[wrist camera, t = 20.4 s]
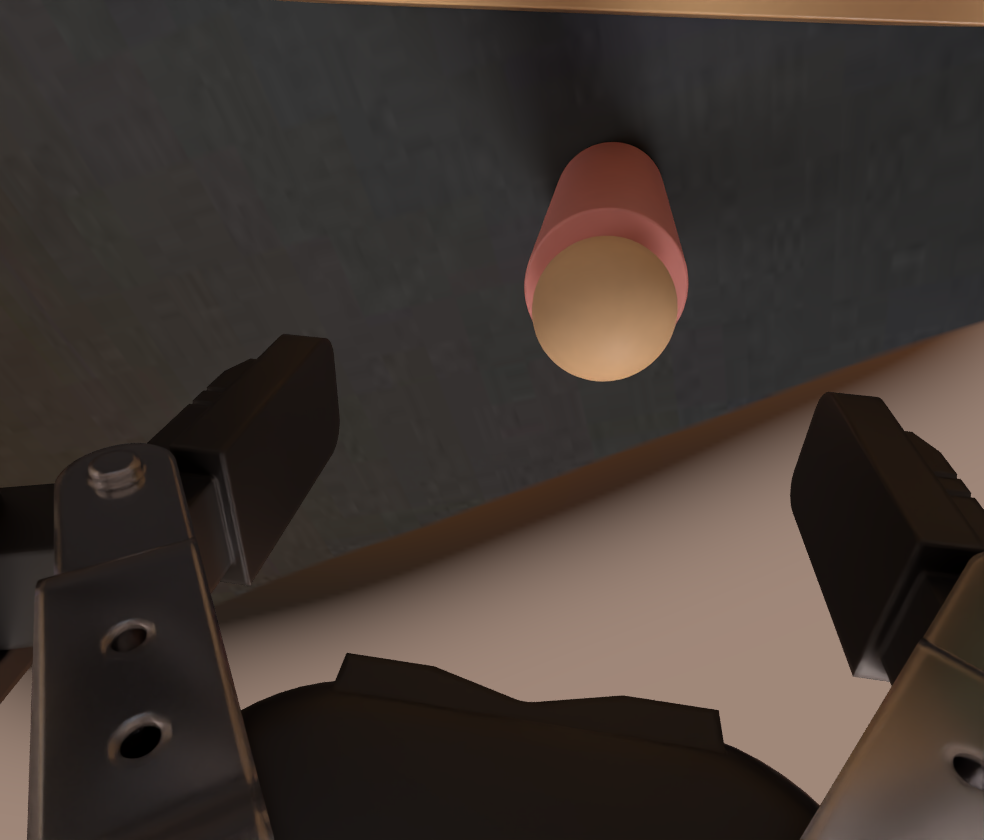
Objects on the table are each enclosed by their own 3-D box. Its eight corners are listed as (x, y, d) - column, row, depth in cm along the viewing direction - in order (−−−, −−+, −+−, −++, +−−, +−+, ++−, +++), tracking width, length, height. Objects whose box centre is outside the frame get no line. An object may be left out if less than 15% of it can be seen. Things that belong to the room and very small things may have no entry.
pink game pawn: (560, 137, 21) (512, 235, 11) (672, 144, 20) (719, 251, 11) (551, 247, 22) (503, 410, 13) (655, 255, 22) (682, 430, 13)
